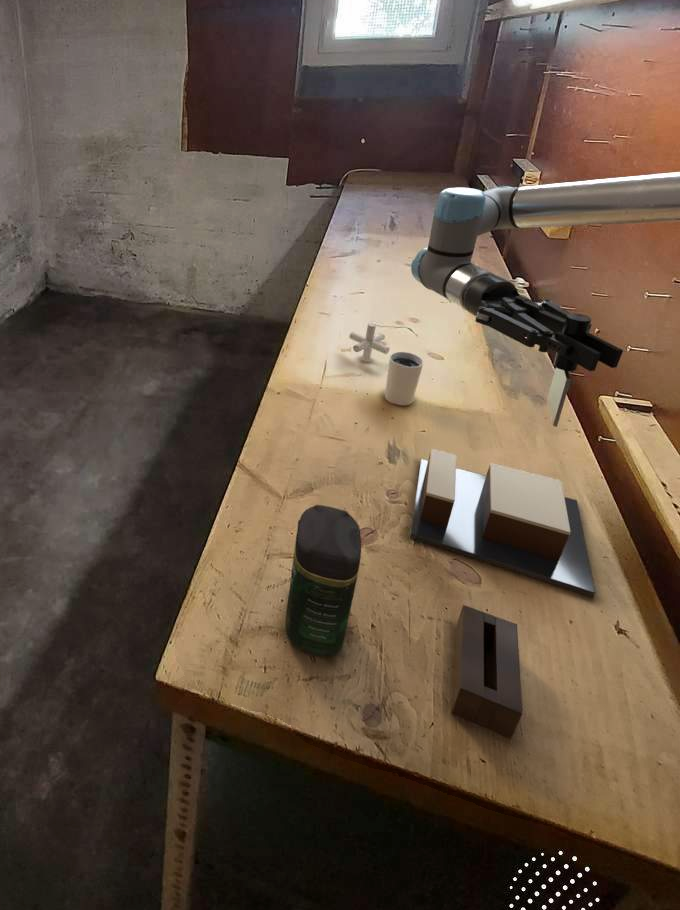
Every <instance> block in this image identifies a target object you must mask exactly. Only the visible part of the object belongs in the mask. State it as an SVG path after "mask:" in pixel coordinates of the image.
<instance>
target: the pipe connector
mask: <svg viewBox="0 0 680 910" xmlns="http://www.w3.org/2000/svg"><path fill="white" fill-rule="evenodd" d="M376 327H377V325H376V323H374V322H368V323H367V327H366V333H365V336H363V335H361V334H358V333H357V332H354V331H351V332H350V334H349V336H348V337H349V339H350V340H351V341H355V342H357V344H355V345H353V346H352V350H353V351H354V352H355V353H359V352H361V351H363V352H362V359H361V361H362V362H364V363H370V362H371V356H372V351H373V350H375V351H377V352H379V353H382V354H384V355H388V353H389V352H390V347H389V346H386V345H385V344H382V343H380V342H382V341H384V340H385V339H386V337H385V334H383V333H381V332H380V333H378V334H376V335H375V333H376Z"/></svg>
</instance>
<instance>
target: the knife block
mask: <svg viewBox="0 0 680 910" xmlns="http://www.w3.org/2000/svg"><path fill="white" fill-rule="evenodd" d="M453 644H454V647H453V668H452V669H453V670H452V690H451V691H452V693H451V714H453V715H455V716H457V717H460V718H462V719H465V720H466V721H469V722H471V723H474V724H475V725H478V726H480V727H482V728H484V729H487V730H490V731H492V732H494V733H497V734H498V735H500V736H503V737H505V738H508V739H512V738H513V736H514V733H515V731H516V729H517V727H518V725H519V722H520V721H521V718H522V716H523V713H524V712H523V698H522V697H523V696H522V684H521V683H522V682H521V668H520V667H521V666H520V665H521V664H520V649H519V633H518V624H517V623H515V622H513V621H510V620H506V619H505V618H501V617H498V616H495V615H492V614H490V613H487V612H484V611H482V610H479V609H476V608H473V607H470V606H468V605H465V604H463V605H462V607H461V610H460V613H459V616H458V619H457V622H456V625H455V629H454V643H453ZM485 651H486V686H485Z"/></svg>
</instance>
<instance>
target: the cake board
mask: <svg viewBox="0 0 680 910" xmlns="http://www.w3.org/2000/svg"><path fill="white" fill-rule="evenodd" d="M427 464H428V460H427V459H422V458H421V459H420V462H419V470H418V476H417V483H416V490H415V496H414V497H415V498H414V504H413V511H412V512H413V513H412V517H411V525H410V532H409V538H410V539H412V540H415V541H418V542H421V543H424V544H427V545H431V546H433V547H436V548H439V549H443V550H446V551H449V552H452V553H454V554H458V555H461V556H464V557H467V558H470V559H474V560H476V561H479V562H482V563H486V564H489V565H492V566H495V567H498V568H500V569H505V570H508V571H511V572H513V573H517V574H520V575H522V576H526V577H529V578H532V579H534V580H537V581H541V582H545V583H548V584H551V585H554V586H557V587H560V588H563V589H566V590H569V591H572V592H574V593H578V594H582V595H585V596H588V597H591V598H594V597H595V595H596V593H597V592H596V588H595V583H594V578H593V573H592V568H591V563H590V558H589V554H588V549H587V544H586V538H585V533H584V529H583V524H582V519H581V513H580V509H579V504H578V500H577V499H575V498H571V497H566V496H564V498H565V504H566V509H567V515H568V520H569V526H570V532H571V533H570V535H569V538H568V540H567V542H566V545H565V547H564V549H563V552H562V554H561V557H560V559H559V561H556V560H553V559H550V558H547V557H543V556H540V555H537V554H534V553H530V552H527V551H524V550H521V549H517V548H514V547H511V546H508V545H504V544H501V543H498V542H495V541H491V540H488V539H485V538H482V488H483V485H484V482H485V479H486V475H484V474H480V473H476V472H472V471H468V470H465V469H461V468H457V467H456V483H455V501H454V505H453V508H452V512H451V516H450V519H449V523H448V526H447V528H445V527H442V526H438V525H435V524H432V523H428V522H425V521H422V520H420V514H421V505H422V496H423V487H424V477H425V472H426V468H427Z"/></svg>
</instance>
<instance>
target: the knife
mask: <svg viewBox="0 0 680 910" xmlns="http://www.w3.org/2000/svg"><path fill="white" fill-rule="evenodd" d="M591 323H592V318H591V317H590V316H588V315H585V314H582V313H572V314H568V315H567V317H566V321H565V324H564V328H563V332H562V333H564V334H565V335H567V336H569V337H571V338H573V339H575V340H577V341H579V342H581V343H582V344H584V343H585V339H586V336H587V333H588V329H589V326H590V324H591ZM555 353H556V354H555V357H554V361H553V366H554V367H555V370H554V373H553V377H552V381H551V383H550V387H549V391H548V395H547V398H546V402H547V407H548V411H549V415H550V419H551V424H552V427H555V428H557V427H558V424H559V421H560V418H561V414H562V411H563V409H564V408H563V407H564V404H565V401H566V397H567V394H568V391H569V388H570V384H571V380H572V379H571V376H570V373H569V372H575V371H576V370H578V366H579V365H578V364H576V363H575V362H573V361H571V360H569V359H568V358H566V357H564V356H562V355H561V354H559V353H557V352H555Z"/></svg>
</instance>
